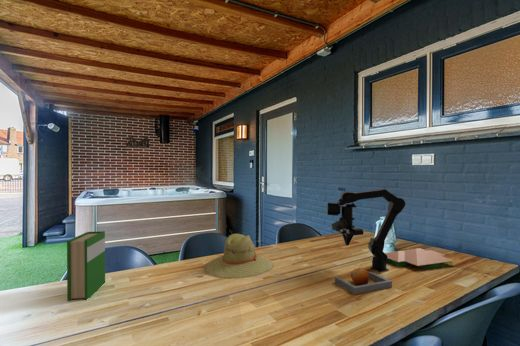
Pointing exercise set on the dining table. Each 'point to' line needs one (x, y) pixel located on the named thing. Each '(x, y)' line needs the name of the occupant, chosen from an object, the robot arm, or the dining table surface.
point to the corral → (378, 285)
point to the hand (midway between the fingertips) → (347, 245)
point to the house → (418, 257)
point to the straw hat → (238, 260)
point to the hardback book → (85, 264)
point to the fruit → (360, 276)
